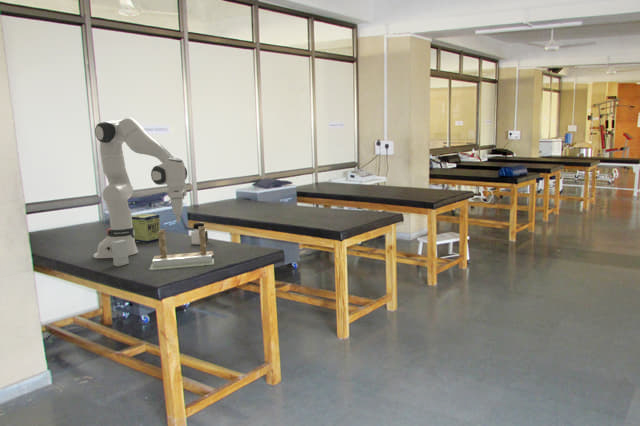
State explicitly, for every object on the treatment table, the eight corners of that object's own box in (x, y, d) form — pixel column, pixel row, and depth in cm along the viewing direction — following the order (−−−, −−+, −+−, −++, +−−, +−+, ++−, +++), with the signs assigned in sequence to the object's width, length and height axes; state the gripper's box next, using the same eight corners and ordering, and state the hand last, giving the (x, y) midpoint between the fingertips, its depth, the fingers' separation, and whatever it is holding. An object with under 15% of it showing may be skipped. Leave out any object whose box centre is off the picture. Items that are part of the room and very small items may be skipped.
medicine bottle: (203, 244, 294) (201, 224, 292) (191, 244, 295) (190, 224, 293) (208, 241, 301) (206, 221, 299) (197, 241, 302) (195, 221, 300)
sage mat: (149, 270, 242) (149, 269, 242) (151, 265, 252) (151, 263, 251) (214, 264, 248) (214, 263, 248) (213, 259, 258) (213, 258, 258)
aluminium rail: (152, 267, 245) (152, 261, 245) (153, 265, 248) (152, 259, 248) (212, 261, 251) (211, 255, 251) (212, 260, 254) (211, 254, 254)
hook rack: (153, 261, 258) (150, 232, 256) (154, 257, 266) (151, 229, 264) (213, 256, 265) (211, 228, 262) (213, 252, 272) (211, 225, 270)
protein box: (148, 243, 302) (146, 217, 299) (130, 241, 310) (128, 216, 307) (161, 239, 311) (159, 214, 308) (144, 237, 319) (141, 213, 316)
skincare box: (124, 262, 258) (122, 239, 256) (129, 264, 255) (127, 240, 253) (113, 265, 253) (110, 241, 251) (117, 266, 250) (115, 242, 248)
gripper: (171, 190, 253) (173, 217, 256) (168, 195, 234) (170, 224, 236) (184, 189, 255) (186, 216, 257) (183, 194, 235) (184, 224, 237)
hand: (178, 220), depth 246 cm, fingers open, 8 cm apart
